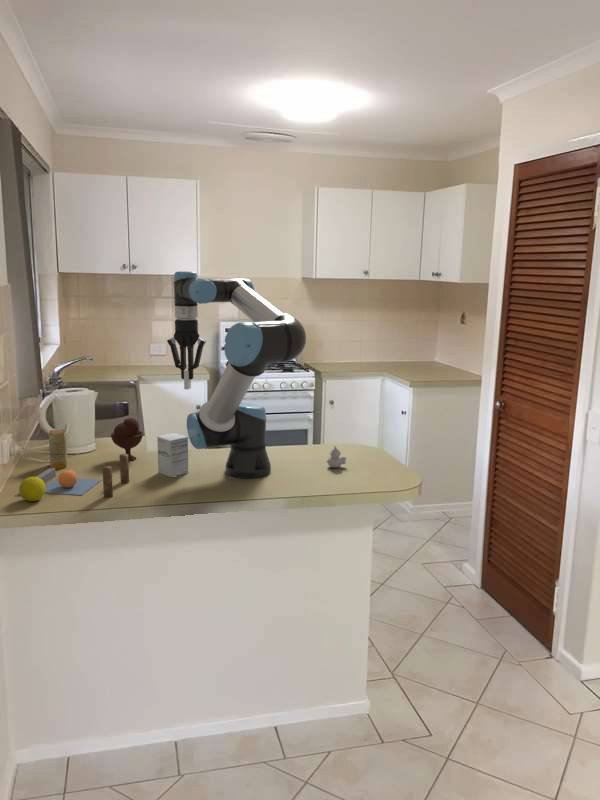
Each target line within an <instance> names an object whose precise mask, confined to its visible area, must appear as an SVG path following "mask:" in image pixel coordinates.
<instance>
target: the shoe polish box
mask: <svg viewBox="0 0 600 800" xmlns="http://www.w3.org/2000/svg"><path fill="white" fill-rule="evenodd" d="M48 445H49V446H48V448H49V449H48V450H49V461H50V462H49V463H50V468H52V469H53V468H55V469H66V468H67V467H68V452H67V451H68V450H67V449H68V448H67V433H66V429H50V430H49V432H48Z"/></svg>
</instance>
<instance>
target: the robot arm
mask: <svg viewBox="0 0 600 800" xmlns="http://www.w3.org/2000/svg"><path fill="white" fill-rule="evenodd" d="M172 284H173V295H174V297H173V298H174V302H173V303H174V318H175V319H174V334H173V336H172V337H171V338H168V339H167V340H166V341H167V344H168V346H170V351H171V354H172V358H173V363H174V366H175V368H177V369H179V370H180V378H181V379H182V380H183V390H188V391H189V390H190V389H191V388H192V380H193V379H194V369H195V370H196V369H197V368H199V367H200V362H201V358H202V353H203V350H204V349H203V348H204V346H205V344H206V343H207V341H206V340H205V339H202V338H201V337H200V334H199V321H198V317H199V316H198V315H199V313H198V305H199V304H200V305H201V304H210V303H231V304H232V305H234V306H235V307H236V308H237V309H238V310H239V311H241V312H242V314H244V315H245V316H247V318H249V319H250V321H249V320H248V321H247V320H246V321H243V322H237V323H235V324H233V325H232V326H230V328H229V329H228V331H227V332H226V335H225V336H224V337H225V338H224V342H225V343H224V344H223V345H224V346H223V347H224V348H223V349H224V351H223V352H224V355H225V357H226V359H227V365H226V367H225V369H224V370H223V373H222V375H221V377H220V379H219V381H218V383H217V385H216V387H215V389H214V391H213V393H212V395H211V398H210V399H209V400H208V401H205V402H204V403H203V404H202V405H201V406H200V408H199V410H198V412H192V413H189V414H188V415H187V417H186V431H187V437H188V440H189V441H190V443H191V445H192V446H193V448H195V449H197V450H208V449H211V448H212V449H213V448H219V447H225V446H230V450H229V453H228V455H227V456H228V457H227V460H226V463H225V473H226V474H227V475H228V476H231V477H234V478H238V477H240V478H239V479H256V478H261V477H266V476H268V475H269V474H270V473H271V471H272V470H271V468H272V465H271V462H270V459H269V456H268V453H267V449H266V447H267V446H266V445H267V444H266V443H267V440H266V437H267V436H266V435H267V430H266V429H267V415H266V414H267V413H266V409H265V407H264V406H262V405H260V404H257V403H252V402H245V401H243V399H244V398H245V396H246V394H247V392H248V390H249V389H250V387H251V385H252V383H253V381H254V380H255V378H257V377H259V376H261V375H263V374H264V373H265V371H266V369H267V368H268V366H269V365H270V364H278V363H287V362H290V361H292V360H294V359H296V358H297V357H299V356H300V355H301V353H302V352H303V351H304V349H305V347H306V343H307V335H306V330H305V327H304V326H303V325H302V322H300V321H299V320H298V319H297V318H295V317H294V316H293V315H291V314H288V313H283V312H282V311H281V310H279V309H278V308H277V307H275V306H274V305H273V304H271V303H270V302H269V301H268V300H267V299H265V298H263V296H261V295H260V294H258V293H257V292H256V291H255V288H254V287H255V286H254V284H253V282H252V281H251V280H250V279H248V278H242V277H236V278H198V274H197V272H196V271H179V270H178V271H175V272H174V274H173V283H172ZM176 343H177V344H178V345H179V349H180V351H178V347H177V344H176ZM196 343H197V347H196V348H197V349H196V354H195V358H194V350H195V349H194V348H195V345H196ZM179 352H180V356H179Z"/></svg>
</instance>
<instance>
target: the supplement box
mask: <svg viewBox="0 0 600 800" xmlns="http://www.w3.org/2000/svg"><path fill="white" fill-rule="evenodd" d="M156 439H157V440H156V441H157V471H158V472H157V473H158V474H162V475H165V476H167V477H169V478H171V477H172V478H174V476H175V477H178V476H177V475H179V476H182V475H181V474H183V475H185V474H184V473H186V474H189V436H186V435H182V434H179V433H176V432H171V433H166V434H163V435H158V436H157V437H156Z"/></svg>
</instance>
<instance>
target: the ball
mask: <svg viewBox="0 0 600 800" xmlns="http://www.w3.org/2000/svg"><path fill="white" fill-rule="evenodd" d="M77 478H78V475H77V473H75V472H74V471H73V470H71V469H66V470H63V471H61V472H60V473H59V475H58V477H57V479H58V482H59V484H60V485H61V486H62V487H64V488H70V487H73V486H74V485H75V484H76V482H77Z"/></svg>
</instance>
